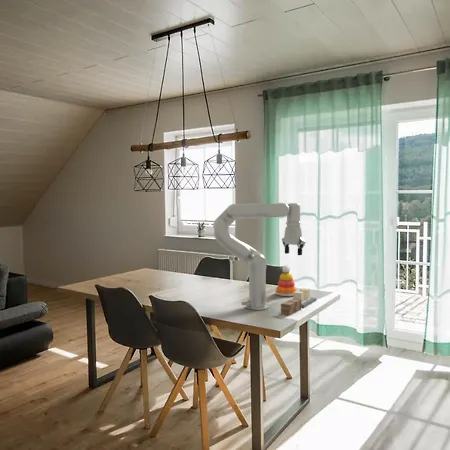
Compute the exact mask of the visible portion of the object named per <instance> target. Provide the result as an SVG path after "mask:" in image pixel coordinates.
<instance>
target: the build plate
mask: <svg viewBox="0 0 450 450" xmlns="http://www.w3.org/2000/svg"><path fill="white" fill-rule="evenodd" d="M293 298H294V299H301V309H303V308H306V307H307V306H309V305H312V303H315V302H316V301H317V297H312V296H311V288H307V287H301V288H299V290H296V291H295V292H293V296H292V299H293Z"/></svg>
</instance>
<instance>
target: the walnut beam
mask: <svg viewBox="0 0 450 450" xmlns="http://www.w3.org/2000/svg"><path fill="white" fill-rule="evenodd" d="M301 310H302V307H301V299H294V298H293V297H292V298H291V299H289V300H287V301H283V302H282V303H280V315H281V316H288V317H290V316H292V315H294V314H296V313H298V312H300V311H301Z"/></svg>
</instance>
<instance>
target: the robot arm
mask: <svg viewBox="0 0 450 450" xmlns="http://www.w3.org/2000/svg"><path fill="white" fill-rule="evenodd" d="M281 217H286V222H285V225H286V227H285V229H284V234H283V235H284V237H282V238H281V242H282V245H283V247H284V254H286V255H287V254H290V245H292V246H295V245H296V246H297V256H302V255H303V248H304V246H305V245H306V243H307V241H306V240H305V239H304V238H303V232H302V227H301V204H300V203H298V202H293V203H292V202H290V203H285V202H277V203H236V204H235V203H231V204H229V206H227V208H225V210H224V211H223V212H222V213H220V214H219V215H218V217H216V219H215V220H214V221H213V224H212V226H213V232H214V233H213V234H214V239H215V241H216V242H217V244H219V245H220V246H221V248H224V250H226V251H228V252H229V253H231V254H232V255H233V256H234V257H236V258H237V259H240V260H241V261H243V262H245V263H246V264H247V265H248V267H249V268H248V281H249V282H248V287H249V288H248V291H249V293H248V294H249V295H248V296H249V297H248V299H247V300H246V301H241V306H246V308H247V309H249V310H252V311H264V310H267V309H269V304H267V302H266V301H267V296H266V295H267V291H266V289H267V288H266V287H267V285H266V282H267V280H266V277H267V273H266V272H267V259H266V257H265V255H264V254H263V253H261V252H260V251H258V250H256V249H255V248H253V247H252V246H250V245H249V244H247V242H244V241H241V240H239V239H238V238H237V237H236V236H234V235H232V234H231V233H230V231H229V229H230V226H231V225H232V224H233V223H234V222H235V221H236V220H245V219H246V220H247V219H262V218H281Z"/></svg>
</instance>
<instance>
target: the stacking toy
mask: <svg viewBox="0 0 450 450" xmlns="http://www.w3.org/2000/svg"><path fill="white" fill-rule="evenodd" d="M290 269H291V268H290V267H289V266H288V264H287V265H284V266H282V269H281V270H282V273H281V274H280V275H279V280H278V281H277V282H278V283H277V287H276V290H274V291H275V292H274V293H275V294H276V295H277V296H282V297H293V292H295V291H297V288H296V286H295V285H296V284H295V281H294V277H293V275H292V273H290Z"/></svg>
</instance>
